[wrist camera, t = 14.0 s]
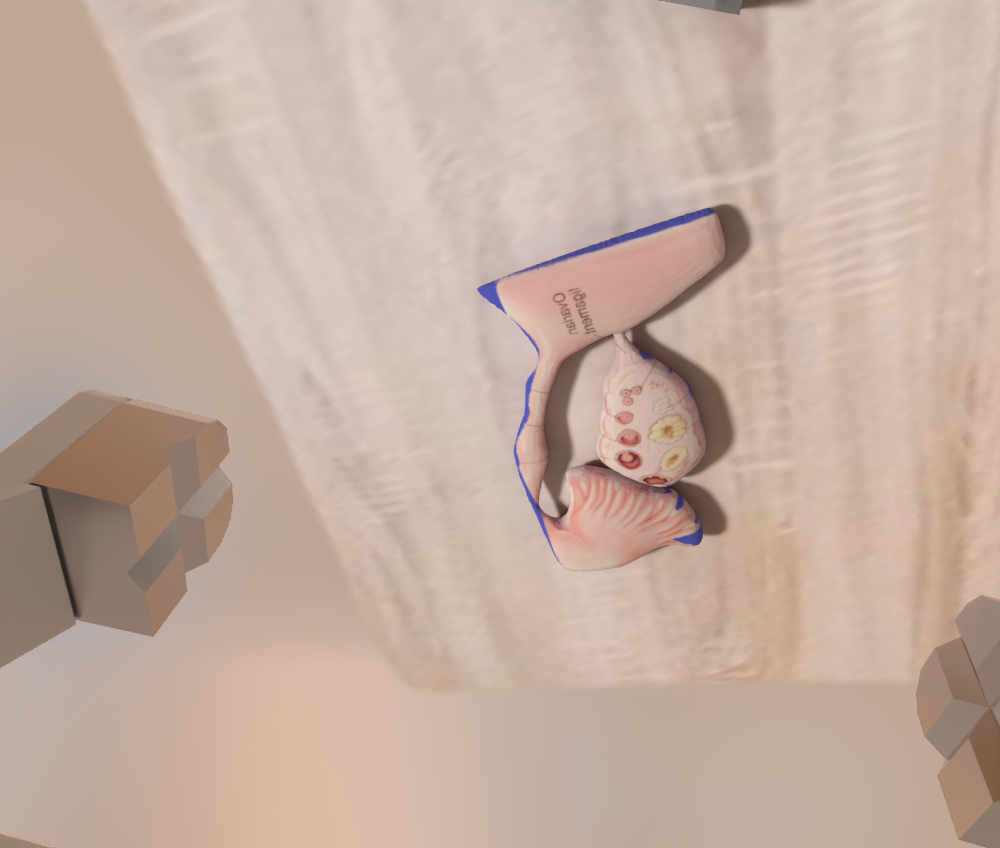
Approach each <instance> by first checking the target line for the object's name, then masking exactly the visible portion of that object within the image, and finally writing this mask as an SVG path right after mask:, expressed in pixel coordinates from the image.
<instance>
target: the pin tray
mask: <svg viewBox="0 0 1000 848" xmlns="http://www.w3.org/2000/svg"><path fill="white" fill-rule="evenodd" d="M660 1H666V2H671V3H677V4H682V5H688V6H693V7H699V8H704V9H710V10H715V11H721V12H726V13H732V14H738V15H739V13H740V10H741V6H742V3H743V0H660Z"/></svg>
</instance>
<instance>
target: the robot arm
mask: <svg viewBox="0 0 1000 848" xmlns="http://www.w3.org/2000/svg"><path fill="white" fill-rule="evenodd" d="M228 453H229V444H228V436H227V428H226V427H225V426H224V425H223V424H222V423H221V422H220V421H218V420H215V419H211V418H207V417H203V416H199V415H196V414H192V413H187V412H184V411H180V410H176V409H172V408H168V407H164V406H160V405H156V404H152V403H148V402H144V401H140V400H132V399H129V398H126V397H122V396H118V395H114V394H110V393H105V392H101V391H97V390H89V391H83V392H79V393H78V394H76V395H75V396H74V397H72V398H71V399H70V400H69V401H67V402H66V403H65V404H63V405H62V406H61V407H59V408H58V409H57V410H56V411H54V412H53V413H52V414H51V415H49V416H48V417H47V418H45V419H44V420H43V421H41V422H40V423H39V424H37V425H36V426H35V427H33V428H32V429H31V430H30V431H28V432H27V433H26V434H24V435H23V436H22V437H21V438H19V439H18V440H17V441H15V442H14V443H13V444H12V445H10V446H9V447H8V448H7V449H5V450H4V451H2V452H1V453H0V668H1V667H2V666H4V665H6V664H8V663H10V662H11V661H13V660H15V659H16V658H18V657H20V656H22V655H23V654H25V653H27V652H29V651H30V650H32V649H34V648H36V647H37V646H39V645H40V644H42V643H44V642H46V641H48V640H49V639H51V638H53V637H55V636H56V635H58V634H60V633H62V632H63V631H65V630H67V629H69V628H70V627H72V626H74V625H75V624H76V620H80V621H84V622H89V623H94V624H98V625H103V626H107V627H111V628H116V629H121V630H125V631H130V632H134V633H139V634H143V635H148V636H152V637H154V635H155V634H156V633H157V631H158V630H159V629H160V627H161V626H162V624H163V623H164V622H165V620H166V619H167V618H168V616H169V615H170V614H171V612H172V611H173V610H174V608H175V607H176V605H177V604H178V603H179V601H180V600H181V599H182V597H183V596H184V594H185V593H186V592H187V585H186V577H185V573H186V572H187V571H190V570H192V569H194V568H196V567H198V566H200V565H203V564H205V563H207V562H208V561H209V560H210V559H211V557H212V555H213V554H214V553H215V551H216V550H217V548H218V547H219V546H220V544H221V542H222V540H223V537H224V535H225V532H226V529H227V527H228V524H229V522H230V517H231V511H232V504H233V493H232V483H231V482H230V480H229V479H228V477H227V476H226V475H225V473H224V472H223V471H222V470H221V468H220V467H219V466H218V465H219V464H220V463H221V462H222V461H223V459H224V458H225V457H226V456H227V454H228ZM955 622H956V625H957V629H958V633H959V636H960V638H957V639H955V640H953V641H950V642H948V643H946V644H943V645H941V646H939V647H936V648H935V649H934V650H933V652H932V653H931V655H930V656H929V658H928V659H927V661H926V663H925V664H924V666H923V667H922V669H921V673H920V677H919V682H918V687H917V692H916V697H917V709H918V716H919V719H920V723H921V726H922V730H923V733H924V736H925V737H926V738H927V739H928V740H929V741H930V742H931V744H932V745H933V746H934V747H935V748H936V749H937V750H938V751H939V752H940V753H941V754H942V755H943V757H944V758H945V759H946V761H945V762H944V764H943V766H942V768H941V770H940V772H939V774H938V779H939V782H940V785H941V788H942V791H943V794H944V797H945V800H946V803H947V806H948V809H949V812H950V815H951V818H952V821H953V824H954V827H955V830H956V833H957V836H958V839H959V840H962V841H965V842H969V843H973V844H976V845H980V846H983V847H987V848H1000V599H996V598H992V597H987V596H983V595H981V596H979V597H978V598H976V599H974V600H973V601H971V602H969V603H967V605H966V606H965V607H964V609H963V610H962V611H961V613H960V614H959V615H958V617H957V618H956V619H955ZM0 848H56V847H53V846H49V845H45V844H42V843H38V842H35V841H31V840H27V839H24V838H20V837H16V836H13V835H9V834H5V833H2V832H0Z"/></svg>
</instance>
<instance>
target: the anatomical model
mask: <svg viewBox="0 0 1000 848" xmlns="http://www.w3.org/2000/svg"><path fill="white" fill-rule="evenodd" d="M725 252H726V246H725V239H724V234H723V230H722V227H721V224H720V221H719V218H718V215H717V213H716V212H715V211H714V210H713V209H709V208H707V209H703V210H700V211H696V212H694V213H689V214H686V215H684V216H679V217H676V218H673V219H670V220H668V221H664V222H661V223H657V224H654V225H652V226H649V227H645V228H642V229H639V230H636V231H635V232H630V233H627V234H624V235H621V236H619V237H615V238H612V239H610V240H607V241H604V242H600V243H598V244H594V245H591V246H589V247H586V248H583V249H580V250H577V251H574V252H572V253H569V254H566V255H563V256H560V257H557V258H555V259H552V260H549V261H545V262H543V263H541V264H537V265H534V266H532V267H529V268H526V269H524V270H522V271H518V272H515V273H513V274H510V275H508V276H506V277H503V278H501V279H498V280H496V281H492V282H490V283H488V284H485V285H483V286H480V287H479V288H478V289H477V290H478V291H479V293H480V294H481V295H482V296H483V297H484V298H486V299H487V300H488V301H489V302H490V303H492V304H494V305H495V306H496V307H497V308H499V309H501V310H502V311H503V312H504V313H505V314H507V315H509V316H510V317H511V318H512V319H513V320H514V321H515V322H516V323H517V324H518V326H519V327H520V328H521V329H522V331H523V332H524V333H525V335H526V336H527V337H528V338H529V340H530V341H531V342H532V344H533V345H534V346H535V348H536V350H537V352H538V355H539V363H538V365H537V367H536V368H535V370H534V371H533V373H532V374H531V375H530V377H529V378H528V380H527V383H526V398H525V414H524V417H523V419H522V422H521V425H520V428H519V431H518V434H517V438H516V442H515V447H514V456H515V460H516V464H517V467H518V471H519V476H520V478H521V481H522V483H523V485H524V487H525V490H526V493H527V496H528V499H529V501H530V502H531V504H532V507H533V509H534V511H535V513H536V515H537V518H538V520H539V522H540V525H541V527H542V529H543V532H544V534H545V536H546V538H547V539H548V542H549V544H550V546H551V549H552V551H553V553H554V555H555V557H556V558H557V560H558V561H559V562H560V564H561V565H562V566H563V567H564V568H565V569H567V570H570V571H596V570H604V569H611V568H616V567H621V566H623V565H626V564H628V563H630V562H632V561H634V560H636V559H638V558H640V557H642V556H644V555H646V554H647V553H649V552H651V551H653V550H655V549H656V548H659V547H661V546H664V545H671V544H677V545H683V546H695V545H698V544H699V543H700V542H701V540H702V538H703V530H702V525H701V522H700V519H699V518H698V517H697V516H696V513H695V512H694V510H693V509H692V508H691V506H690V505H689V504H688V503H687V501H686V500H685V499H684V498H683V497H682V496H681V495H680V494H679V493H678V492H676V491H675V490H673V489H670V488H667V487H668V486H671V485H673V484H674V483H676V482H677V481H679V480H680V479H681V478H682V477H683V476H685V475H686V474H688V473H689V472H690V471H691V470H692V469H693V468H694V467H695V466H696V465H697V464H698V463H699V462H700V461H701V459H702V458H703V455H704V454H705V449H706V437H705V433H704V429H703V425H702V422H701V418H700V415H699V412H698V409H697V405H696V403H695V400H694V397H693V394H692V392H691V389H690V387H689V386H688V385H687V383H686V382H685V381H684V380H683V379H682V378H681V377H680V376H679V375H678V374H676V373H675V372H674V371H673V370H671V369H670V368H668V367H667V366H666V365H664V364H662V363H661V362H659V361H658V360H656V359H655V358H653V357H652V356H650V355H648V354H646V353H645V352H643V351H641V350H639V349H638V348H637V347H635V346H634V345H633V344H632V343H631V342H630V341H629V340H628V339H627V337H626V336H625V331H626V330H628V329H631V328H632V327H634V326H636V325H638V324H640V323H641V322H643V321H644V320H646V319H647V318H649V317H651V316H652V315H653V314H655V313H656V312H657V311H659V310H660V309H661V308H663V307H664V306H666V305H668V304H669V303H670V302H672V301H673V300H674V299H675V298H677V297H678V296H679V295H680V294H682V293H683V292H684V291H685V290H686V289H688V288H689V287H690V286H691V285H692V284H694V283H695V282H696V281H698V280H700V279H701V278H702V277H704V276H705V275H706V274H707V273H709V272H710V271H711V270H712V269H714V268H715V267H716V266H717V265H718V264H719V263H720V262H721V261H722V260H723V258H724V255H725ZM611 334H613V335H614V339H615V356H614V360H613V362H612V364H611V367H610V368H609V370H608V372H607V374H606V376H605V378H604V381H603V403H602V408H601V416H600V431H599V434H598V437H597V441H596V451H597V454H598V456H599V458H600V460H601V461H602V462H603V463H604V464H605V465H607V466H608V467H610V468H611V469H607V468H602V467H596V466H589V465H581V466H576V467H574V468H571V469H570V470H568V471H567V472H566V479H567V484H568V489H569V492H570V505H569V508H568V512H567V513H566V514H565V515H564V516H562V517H557V518H555V517H551V516H549V515H547V514H546V513H544V512H543V511H542V509H541V508H540V507H539V494H540V489H541V484H542V480H543V477H544V473H545V470H546V467H547V465H548V461H549V458H548V449H547V445H546V439H545V432H544V418H545V412H546V406H547V402H548V398H549V395H550V391H551V389H552V386H553V384H554V381H555V378H556V376H557V373H558V370H559V368H560V366H561V363H562V362H563V361H564V360H565V359H566V358H567V357H569V356H570V355H572V354H573V353H576V352H577V351H579V350H581V349H582V348H584V347H586V346H588V345H589V344H591V343H593V342H595V341H597V340H599V339H601V338H604V337H606V336H609V335H611ZM612 469H613V470H612Z"/></svg>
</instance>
